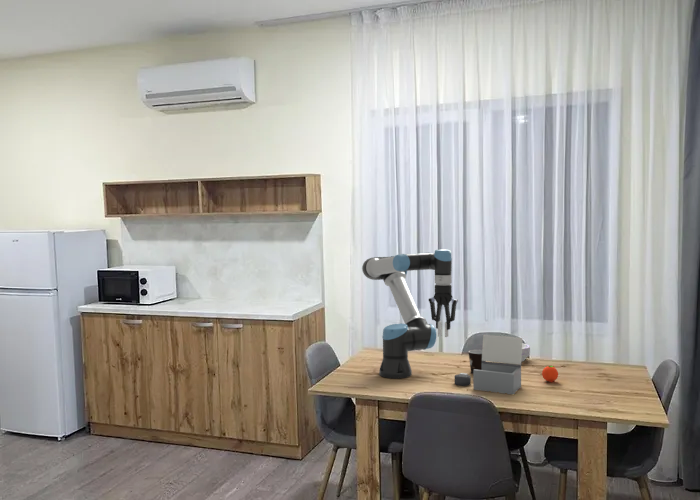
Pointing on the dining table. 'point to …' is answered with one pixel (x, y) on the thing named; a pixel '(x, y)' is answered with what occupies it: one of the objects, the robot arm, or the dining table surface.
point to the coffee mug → (475, 359)
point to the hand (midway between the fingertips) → (443, 336)
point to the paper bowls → (525, 351)
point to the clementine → (550, 373)
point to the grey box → (497, 377)
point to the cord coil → (462, 379)
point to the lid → (502, 349)
